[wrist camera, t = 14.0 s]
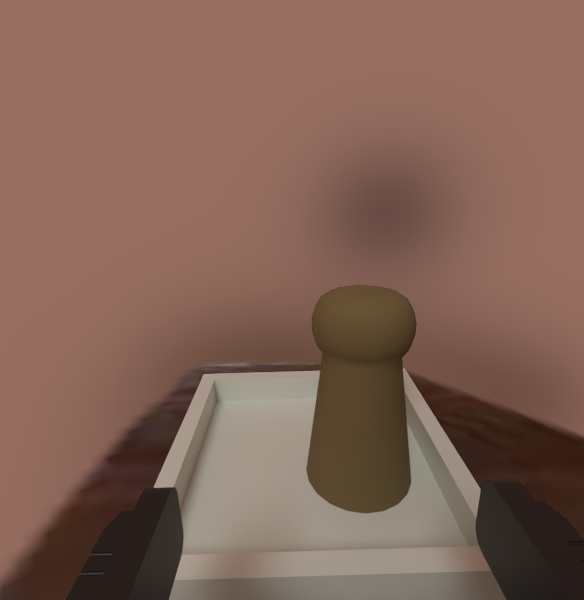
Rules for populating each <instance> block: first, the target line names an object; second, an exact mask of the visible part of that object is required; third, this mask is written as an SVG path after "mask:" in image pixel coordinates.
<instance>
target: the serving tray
mask: <svg viewBox="0 0 584 600" xmlns="http://www.w3.org/2000/svg"><path fill="white" fill-rule="evenodd" d="M319 376H320V371H295V372H261V373H227V374H204V375H203V378H202V380H201V382H200V384H199V387H198V389H197V391H196V393H195V395H194V398H193V400H192V402H191V404H190V407H189V409H188V411H187V413H186V416H185V418H184V420H183V422H182V425H181V427H180V429H179V431H178V434H177V436H176V438H175V440H174V443H173V445H172V447H171V449H170V452H169V454H168V456H167V458H166V461H165V463H164V465H163V467H162V470H161V472H160V474H159V476H158V479H157V481H156V483H155V485H154V488H165V487H175V488H176V489H177V493H178V499H179V505H180V512H181V519H182V525H183V534H184V539H183V549H182V555H181V559H180V563H179V566H178V570H177V573H176V577H175V580H174V583H173V587H172V590H171V594H170V597H169V600H506V598H505V596H504V594H503V592H502V590H501V588H500V587H499V585H498V583H497V581H496V579H495V577H494V575H493V573H492V571H491V569H490V567H489V565H488V564H487V562H486V560H485V558H484V556H483V554H482V552H481V550H480V547H479V544H478V541H477V536H476V529H475V524H476V517H477V511H478V505H479V498H480V492H481V489H480V488H479V486H478V484H477V483H476V481H475V480H474V478H473V476H472V475H471V473H470V472H469V470H468V469H467V467H466V465H465V464H464V462H463V461H462V459H461V457H460V456H459V454H458V453H457V451H456V449H455V448H454V446H453V445H452V443H451V442H450V440H449V438H448V437H447V435H446V434H445V432H444V430H443V429H442V427H441V426H440V424H439V422H438V421H437V419H436V418H435V416H434V414H433V413H432V411H431V410H430V408H429V407H428V405H427V403H426V402H425V400H424V399H423V397H422V395H421V394H420V392H419V391H418V389H417V387H416V386H415V384H414V383H413V381H412V379H411V378H410V376H409V375H408V373H407V372H406V370H405V368H403V378H404V391H405V405H406V418H407V431H408V445H409V458H410V471H411V484H410V488H409V491H408V494H407V495H406V496H405V497H404V499H403V500H402V501H401V502H400V503H399V504H398V505H396V506H394V507H391V508H389V509H387V510H385V511H381V512H374V513H367V514H365V513H358V512H351V511H346V510H344V509H341V508H339V507H336V506H334V505H331V504H330V503H328V502H327V501H326V500H324V499H323V498H322V497H321V496H319V495H318V494H317V493H316V491H315V490H314V488H313V487H312V485H311V484H310V482H309V479H308V475H307V470H306V468H307V461H308V454H309V447H310V440H311V433H312V425H313V418H314V411H315V404H316V397H317V390H318V383H319Z"/></svg>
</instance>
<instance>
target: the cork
mask: <svg viewBox="0 0 584 600" xmlns="http://www.w3.org/2000/svg"><path fill="white" fill-rule="evenodd" d="M312 331H313V335H314V339H315V341H316V343H317V346H318V347H319V349H320V350H321V351H322V352H323V355H322V362H321V369H320V376H319V383H318V390H317V397H316V404H315V411H314V418H313V425H312V433H311V440H310V447H309V454H308V461H307V468H306V470H307V475H308V479H309V482H310V484H311V485H312V487H313V488H314V490H315V491H316V493H317V494H318V495H319V496H321V497H322V498H323V499H324V500H326V501H327V502H328V503H330V504H331V505H334V506H336V507H339V508H341V509H344V510H346V511H351V512H358V513H365V514H367V513H374V512H381V511H385V510H387V509H389V508H391V507H394V506H396V505H398V504H399V503H400V502H401V501H402V500H403V499H404V497H405V496H406V495H407V494H408V491H409V488H410V484H411V471H410V458H409V445H408V431H407V418H406V405H405V391H404V378H403V365H402V357H403V356H404V355H405V354H406V353H407V352H408V350H409V348H410V346H411V344H412V342H413V339H414V337H415V333H416V318H415V313H414V310H413V308H412V306H411V304H410V302H409V300H408V299H407V298H406V297H404V296H403V295H401V294H400V293H398V292H397V291H394V290H391V289H388V288H383V287H377V286H368V285H358V286H357V285H356V286H345V287H339V288H336V289H332V290H330V291H329V292H327V293H325V294H324V295H322V296H321V297H320V299H319V300H318V302H317V304H316V306H315V308H314V312H313V316H312Z"/></svg>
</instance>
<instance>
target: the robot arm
mask: <svg viewBox="0 0 584 600" xmlns="http://www.w3.org/2000/svg"><path fill="white" fill-rule="evenodd" d="M475 529H476V536H477V541H478V544H479V547H480V550H481V552H482V554H483V556H484V558H485V560H486V562H487V564H488V565H489V567H490V569H491V571H492V573H493V575H494V577H495V579H496V581H497V583H498V585H499V587H500V588H501V590H502V592H503V594H504V596H505V598H506V600H584V540H583V539H582V537H581V536H580V535H579V534H578V533H577V531H576V530H575V529H574V528H573V526H572V525H571V524H570V523H569V522H568V520H567V519H566V518H564V517H563V516H562V515H560V514H559V513H558V512H556V511H555V510H554V509H553V508H551V507H550V506H549V505H547V504H546V503H545V502H543V501H540V502H535V501H534V499H533V498H532V497H531V496H530V494H529V493H528V492H527V490H526V489H525V488H524V486H523V485H522V484H521V483H520V482H519V481H517V480H515V479H500V480H484V481H483V483H482V486H481V492H480V498H479V505H478V511H477V517H476V524H475ZM183 539H184V534H183V525H182V519H181V512H180V505H179V499H178V493H177V489H176V488H175V487H165V488H146V489H144V491H143V492H142V494H141V496H140V498H139V500H138V502H137V504H136V506H135V508H134V510H133V511H124V512H121V513H120V514H119V515H118V516H117V517H116V518H115V519H114V520H113V521H112V522H111V523H110V524H109V525H108V526H107V527H106V528H105V529H104V530H103V532H102V534H101V535H100V537H99V539H98V541H97V543H96V545H95V547H94V548H93V550H92V552H91V557H89V558H88V560H87V561H86V563H85V565H84V567H83V569H82V571H81V575H80V576H78V578H77V580H76V582H75V584H74V586H73V587H72V589H71V591H70V593H69V595H68V597H67V598H66V600H169V597H170V594H171V590H172V587H173V583H174V580H175V577H176V573H177V570H178V566H179V563H180V559H181V555H182V549H183Z"/></svg>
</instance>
